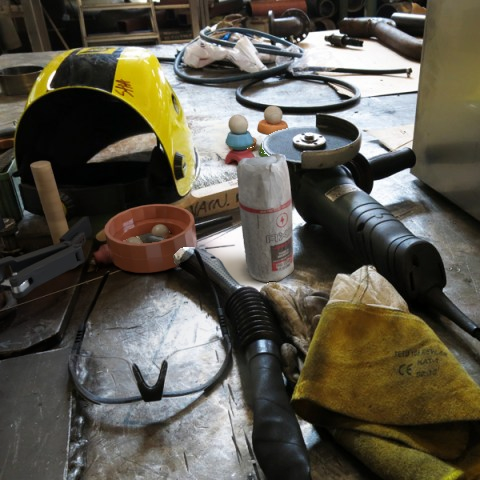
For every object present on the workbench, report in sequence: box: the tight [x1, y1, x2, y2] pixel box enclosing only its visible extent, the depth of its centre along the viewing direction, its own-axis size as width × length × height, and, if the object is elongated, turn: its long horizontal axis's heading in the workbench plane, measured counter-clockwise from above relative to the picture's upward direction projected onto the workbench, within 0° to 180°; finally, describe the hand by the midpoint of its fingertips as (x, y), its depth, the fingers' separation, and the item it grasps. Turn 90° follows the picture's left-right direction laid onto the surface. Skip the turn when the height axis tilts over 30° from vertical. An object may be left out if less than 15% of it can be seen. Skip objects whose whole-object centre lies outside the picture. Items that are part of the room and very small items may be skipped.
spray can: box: [236, 152, 295, 283], centre depth 75 cm, size 8×8×20 cm
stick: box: [29, 160, 78, 271], centre depth 75 cm, size 3×3×18 cm
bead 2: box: [151, 224, 169, 239], centre depth 85 cm, size 3×3×3 cm
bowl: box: [104, 203, 198, 274], centre depth 82 cm, size 14×14×6 cm
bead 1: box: [126, 237, 143, 243], centre depth 81 cm, size 3×3×3 cm
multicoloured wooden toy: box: [224, 105, 289, 165], centre depth 121 cm, size 18×17×12 cm
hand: (44, 221), depth 72 cm, fingers open, 13 cm apart
